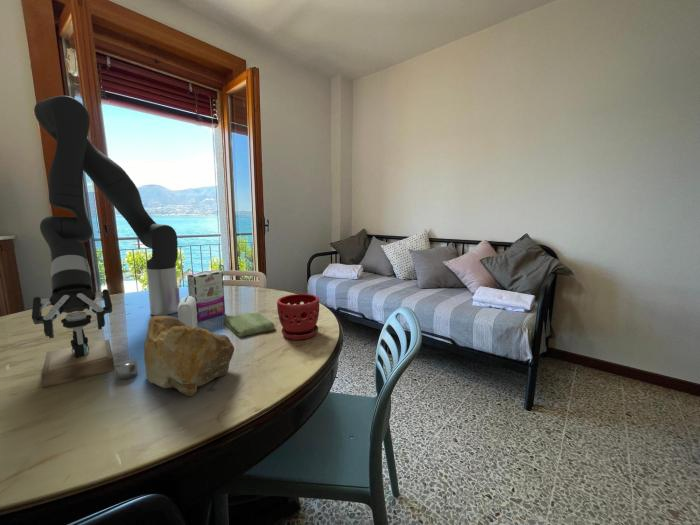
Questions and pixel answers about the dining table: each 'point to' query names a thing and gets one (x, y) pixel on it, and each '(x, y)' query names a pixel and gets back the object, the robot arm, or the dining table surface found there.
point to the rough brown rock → (184, 355)
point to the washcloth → (248, 324)
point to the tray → (76, 363)
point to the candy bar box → (207, 293)
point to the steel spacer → (126, 369)
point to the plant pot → (298, 315)
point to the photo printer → (188, 311)
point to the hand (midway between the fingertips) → (76, 332)
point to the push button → (78, 331)
